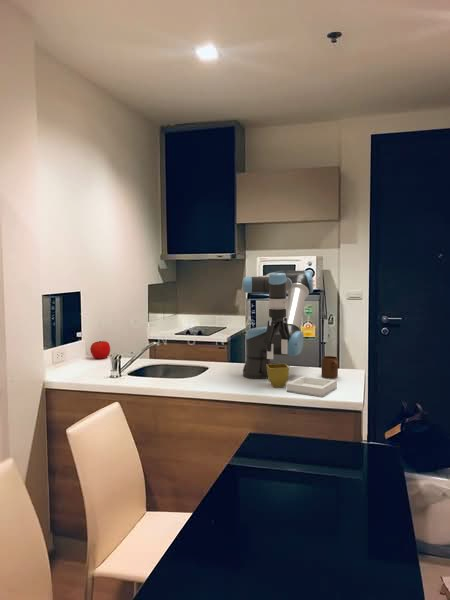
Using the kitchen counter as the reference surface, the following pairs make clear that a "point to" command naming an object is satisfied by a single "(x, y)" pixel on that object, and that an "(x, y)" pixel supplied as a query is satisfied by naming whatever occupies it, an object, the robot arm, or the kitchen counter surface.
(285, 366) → the flower pot
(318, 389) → the white square tray
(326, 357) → the mug
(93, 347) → the tomato
